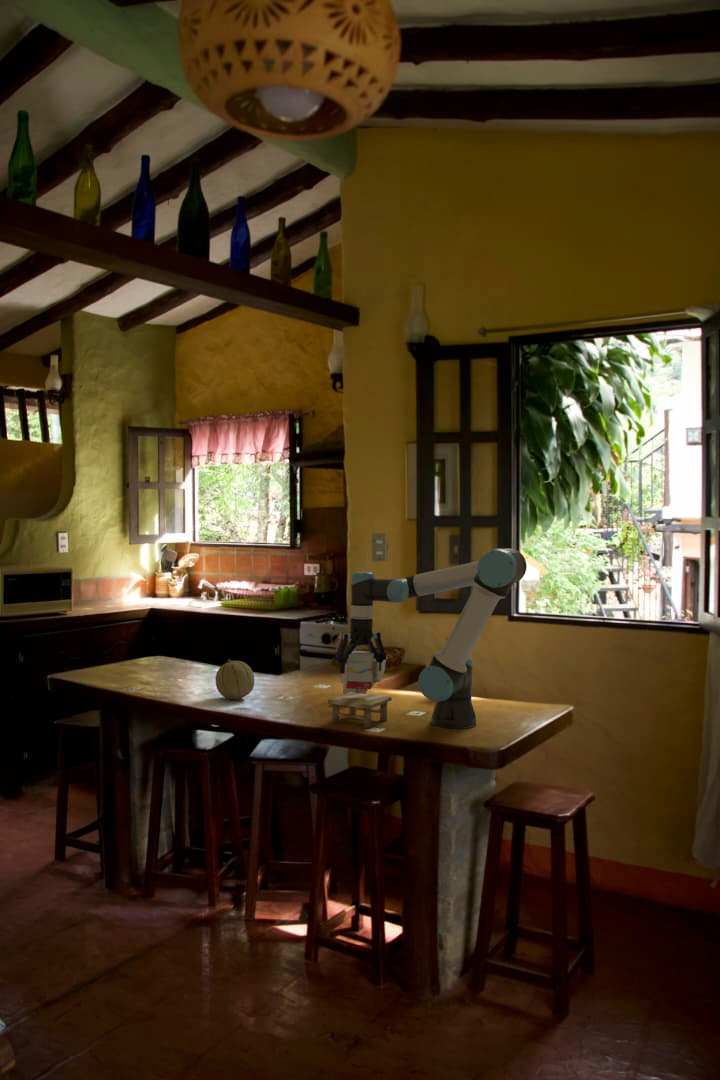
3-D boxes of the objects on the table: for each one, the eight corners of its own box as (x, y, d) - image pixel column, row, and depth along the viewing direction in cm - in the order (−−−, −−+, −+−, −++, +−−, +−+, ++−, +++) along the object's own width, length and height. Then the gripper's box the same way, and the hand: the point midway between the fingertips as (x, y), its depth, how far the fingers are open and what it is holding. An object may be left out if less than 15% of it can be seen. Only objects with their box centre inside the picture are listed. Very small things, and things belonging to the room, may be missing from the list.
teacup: (353, 676, 386) (353, 654, 386) (387, 677, 386) (387, 654, 386) (351, 681, 374) (352, 658, 374) (387, 682, 374) (387, 659, 374)
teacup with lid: (355, 705, 327) (355, 673, 327) (337, 701, 333) (337, 670, 333) (376, 700, 336) (377, 670, 336) (358, 697, 342) (359, 667, 342)
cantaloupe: (252, 703, 327) (252, 663, 326) (212, 702, 326) (212, 662, 326) (256, 695, 341) (257, 656, 341) (218, 695, 341) (219, 656, 341)
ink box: (370, 689, 295) (371, 654, 295) (345, 688, 296) (346, 653, 296) (374, 685, 303) (375, 650, 303) (349, 683, 305) (350, 649, 304)
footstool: (391, 720, 303) (391, 696, 303) (370, 729, 289) (370, 705, 289) (350, 714, 311) (350, 692, 311) (327, 723, 297) (328, 699, 296)
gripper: (386, 615, 308) (385, 677, 309) (325, 617, 297) (323, 682, 298) (397, 617, 301) (396, 681, 302) (334, 620, 290) (333, 686, 291)
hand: (360, 681), depth 300 cm, fingers closed on ink box, 11 cm apart
